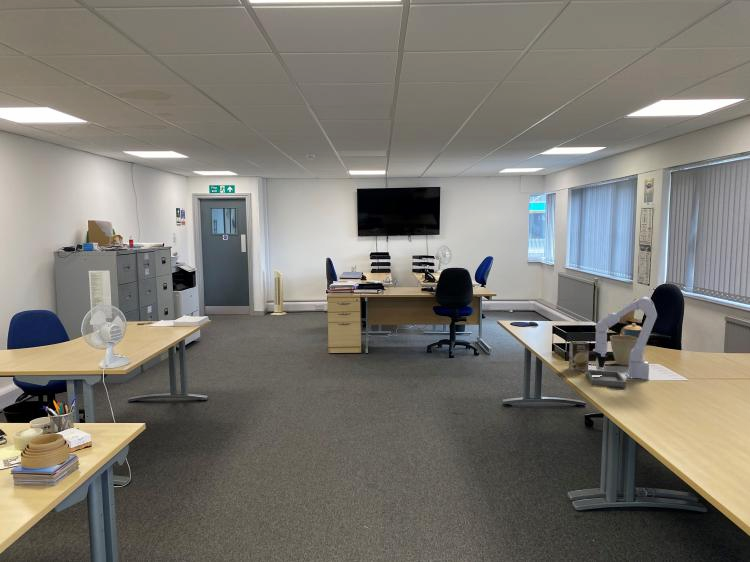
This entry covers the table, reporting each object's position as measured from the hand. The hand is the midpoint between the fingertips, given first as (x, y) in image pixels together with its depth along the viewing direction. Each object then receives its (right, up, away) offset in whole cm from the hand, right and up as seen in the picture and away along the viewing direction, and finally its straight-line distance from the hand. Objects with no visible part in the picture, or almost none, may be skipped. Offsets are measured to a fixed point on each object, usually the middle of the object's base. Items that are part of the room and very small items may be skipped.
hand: (600, 365), depth 268 cm
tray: (-4, -5, -15) cm, 16 cm away
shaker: (0, -2, 0) cm, 2 cm away
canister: (+46, +2, +50) cm, 68 cm away
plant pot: (+21, -2, +16) cm, 27 cm away
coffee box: (-10, -4, +6) cm, 12 cm away
